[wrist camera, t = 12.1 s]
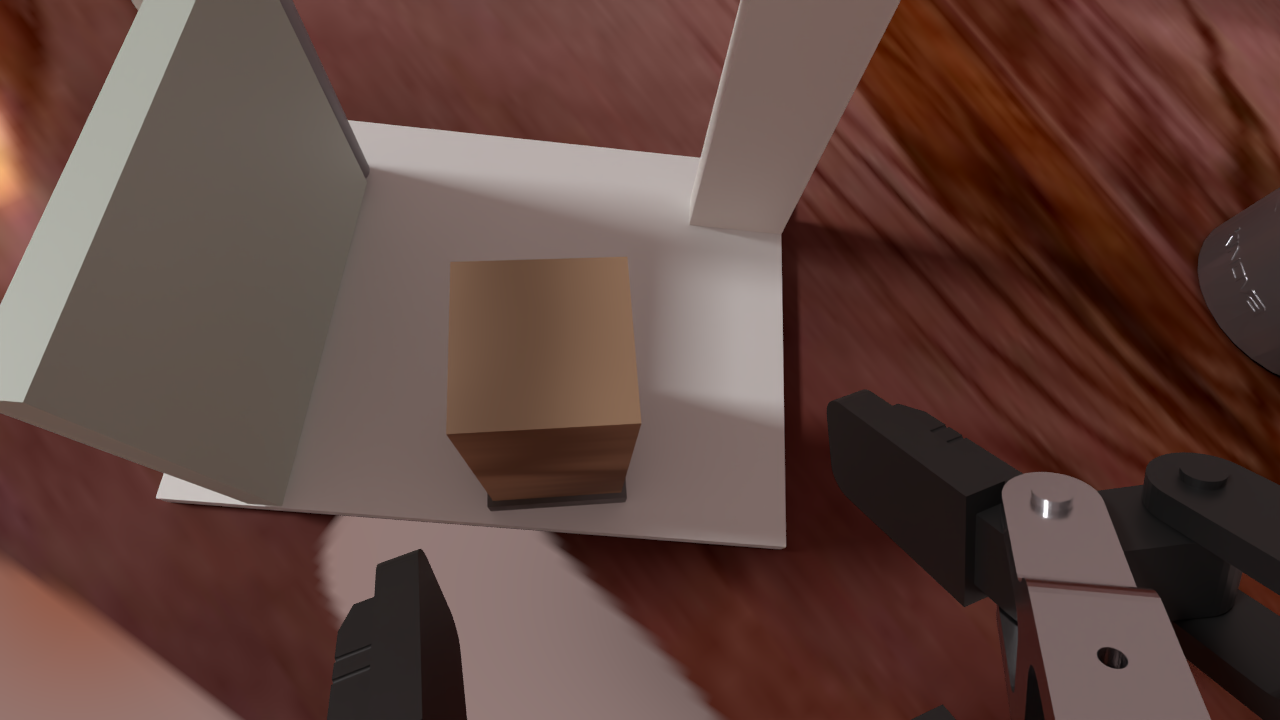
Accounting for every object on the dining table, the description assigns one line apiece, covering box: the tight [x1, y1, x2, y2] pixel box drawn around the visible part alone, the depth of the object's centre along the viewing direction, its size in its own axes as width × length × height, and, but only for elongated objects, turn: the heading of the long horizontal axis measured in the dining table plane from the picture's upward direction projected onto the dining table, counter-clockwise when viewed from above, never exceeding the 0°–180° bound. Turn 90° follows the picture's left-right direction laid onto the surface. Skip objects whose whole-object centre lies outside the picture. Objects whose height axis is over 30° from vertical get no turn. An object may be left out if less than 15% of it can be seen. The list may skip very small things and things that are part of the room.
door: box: [0, 0, 370, 506], centre depth 21 cm, size 15×2×12 cm, turn 176°
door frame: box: [131, 0, 900, 549], centre depth 22 cm, size 23×18×16 cm
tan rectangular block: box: [446, 257, 641, 511], centre depth 21 cm, size 5×5×10 cm
